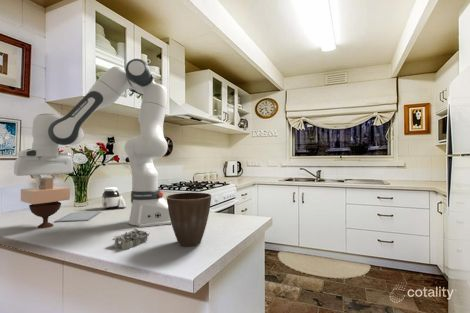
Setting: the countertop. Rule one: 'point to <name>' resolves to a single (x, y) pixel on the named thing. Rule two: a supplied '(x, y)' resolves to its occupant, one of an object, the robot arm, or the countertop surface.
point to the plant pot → (189, 216)
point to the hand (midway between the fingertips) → (45, 185)
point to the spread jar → (111, 198)
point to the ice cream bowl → (45, 212)
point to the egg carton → (130, 239)
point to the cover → (45, 193)
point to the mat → (78, 217)
